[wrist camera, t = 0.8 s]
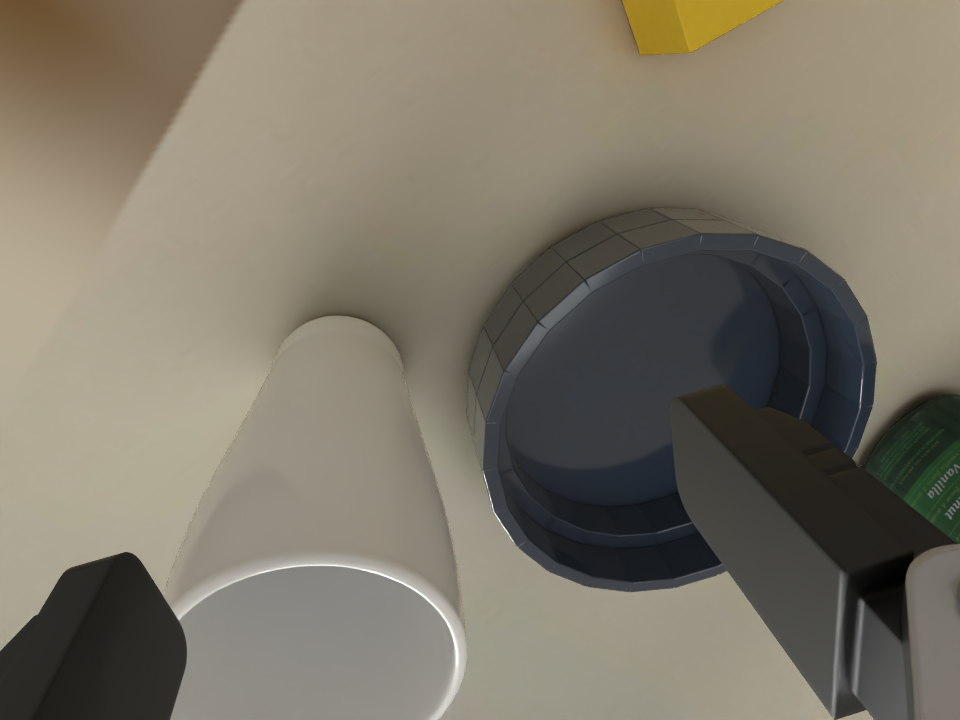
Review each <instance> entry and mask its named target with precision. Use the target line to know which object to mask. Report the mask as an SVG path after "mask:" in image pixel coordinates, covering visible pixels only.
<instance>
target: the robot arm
mask: <svg viewBox="0 0 960 720" xmlns="http://www.w3.org/2000/svg"><path fill="white" fill-rule="evenodd" d="M669 410H670V422H671V433H672V444H673V454H674V465H675V475H676V483H677V488H678V492H679V495H680V498H681V501H682V503H683V506H684V508H685V510H686V512H687V514H688V516H689V518H690V519H691V521H692V522H693V524H694V525H695V526H696V528H697V529H698V531H699V532H700V533H701V535H702V536H703V538H704V539H705V540H706V542H707V543H708V545H709V546H710V547H711V549H712V550H713V551H714V553H715V554H716V556H717V557H718V558H719V560H720V561H721V563H722V564H723V565H724V567H725V568H726V570H727V571H728V572H729V574H730V575H731V577H732V578H733V579H734V581H735V582H736V584H737V585H738V586H739V588H740V589H741V590H742V592H743V593H744V595H745V596H746V597H747V599H748V600H749V602H750V603H751V604H752V606H753V607H754V609H755V610H756V611H757V613H758V614H759V616H760V617H761V618H762V620H763V621H764V623H765V624H766V625H767V627H768V628H769V629H770V631H771V632H772V634H773V635H774V636H775V638H776V639H777V641H778V642H779V643H780V645H781V646H782V648H783V649H784V650H785V652H786V653H787V655H788V656H789V657H790V659H791V660H792V661H793V663H794V664H795V666H796V667H797V668H798V670H799V671H800V673H801V674H802V675H803V677H804V678H805V680H806V681H807V682H808V684H809V685H810V687H811V688H812V689H813V691H814V692H815V694H816V695H817V696H818V698H819V699H820V700H821V702H822V703H823V705H824V706H825V707H826V709H827V710H828V712H829V713H830V714H831V716H832V717H833V719H834V720H836V719H839V718H842V717H846V716H849V715H852V714H855V713H858V712H861V711H864V710H867V711H868V712H869V713H870V715H871V716H872V717H873V719H874V720H960V544H957V543H956V542H955V541H953V540H952V539H951V538H950V537H948V536H947V535H946V534H945V533H943V532H942V531H941V530H940V529H938V528H937V527H936V526H935V525H933V524H932V523H931V522H930V521H928V520H927V519H926V518H925V517H923V516H922V515H921V514H920V513H919V512H917V511H916V510H915V509H914V508H912V507H911V506H910V505H909V504H907V503H906V502H905V501H904V500H902V499H901V498H900V497H899V496H897V495H896V494H895V493H894V492H892V491H891V490H890V489H889V488H887V487H886V486H885V485H884V484H883V483H881V482H880V481H879V480H878V479H876V478H875V477H874V476H873V475H871V474H870V473H869V472H868V471H866V470H865V469H864V468H863V467H861V466H860V467H857V466H856V464H855V461H854V460H853V459H851V458H850V457H849V456H848V455H847V454H845V453H844V452H843V451H842V450H840V449H839V448H838V447H836V448H834V447H833V446H832V442H830V441H829V440H828V439H827V438H825V437H824V436H823V435H822V434H820V433H819V432H818V431H817V430H815V429H814V428H813V427H812V426H811V425H809V424H808V423H807V422H806V421H804V420H801V419H799V418H796V417H794V416H791V415H789V414H786V413H784V412H781V411H779V410H776V409H774V408H771V407H769V406H768V407H765V408H761V409H758V410H754V409H753V408H751V407H750V406H749V405H748V404H747V403H746V402H745V401H744V400H742V399H741V398H740V397H739V396H738V395H737V394H736V393H734V392H733V391H732V390H731V389H730V388H729V387H727V386H726V385H723V384H720V385H716V386H713V387H709V388H706V389H702V390H699V391H695V392H692V393H688V394H685V395H681V396H678V397H674V398H672V399H671V402H670V408H669ZM186 662H187V644H186V638H185V634H184V630H183V628H182V625H181V624H180V622H179V620H178V618H177V617H176V615H175V614H174V612H173V611H172V609H171V608H170V606H169V604H168V603H167V601H166V600H165V598H164V597H163V595H162V593H161V592H160V590H159V589H158V587H157V586H156V584H155V583H154V581H153V579H152V578H151V576H150V575H149V573H148V572H147V570H146V568H145V567H144V565H143V564H142V562H141V561H140V560H139V559H138V558H137V557H136V556H135V555H134V554H132V553H129V552H124V553H120V554H117V555H113V556H110V557H106V558H103V559H99V560H96V561H92V562H89V563H85V564H82V565H78V566H75V567H71V568H69V569H68V570H66V571H65V572H64V573H63V574H62V576H61V577H60V579H59V580H58V582H57V584H56V585H55V587H54V589H53V590H52V592H51V594H50V595H49V597H48V599H47V600H46V602H45V604H44V605H43V607H42V609H41V610H40V612H39V614H38V615H36V616H34V617H33V618H32V619H31V620H30V621H29V622H28V623H27V624H26V625H25V626H24V627H23V628H22V629H21V630H20V631H19V632H18V633H17V635H16V636H15V637H14V638H13V639H12V640H11V641H10V642H9V643H8V644H7V645H6V646H5V647H4V648H3V649H2V650H1V651H0V720H170V718H171V715H172V712H173V708H174V705H175V702H176V698H177V695H178V692H179V688H180V685H181V682H182V678H183V675H184V672H185V668H186Z"/></svg>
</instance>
